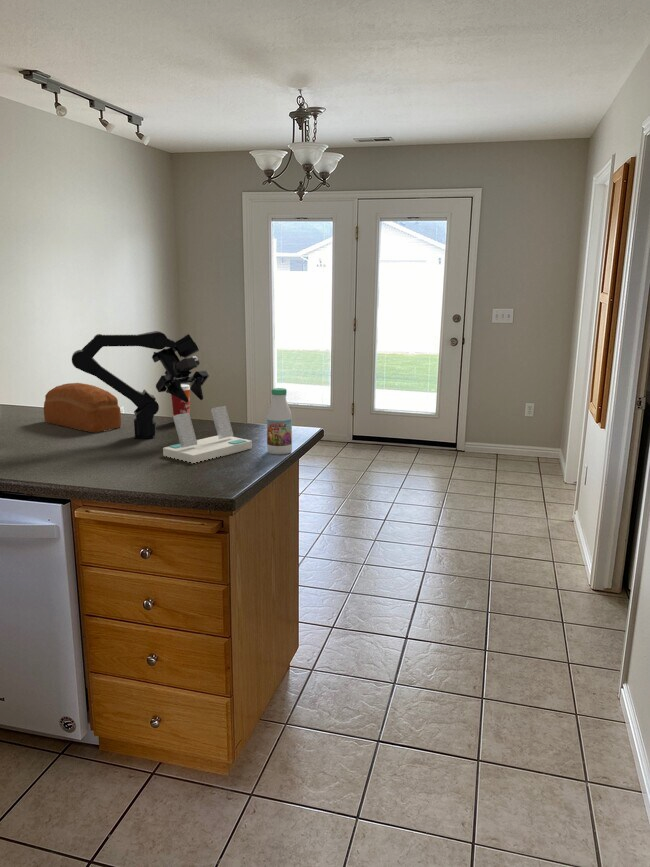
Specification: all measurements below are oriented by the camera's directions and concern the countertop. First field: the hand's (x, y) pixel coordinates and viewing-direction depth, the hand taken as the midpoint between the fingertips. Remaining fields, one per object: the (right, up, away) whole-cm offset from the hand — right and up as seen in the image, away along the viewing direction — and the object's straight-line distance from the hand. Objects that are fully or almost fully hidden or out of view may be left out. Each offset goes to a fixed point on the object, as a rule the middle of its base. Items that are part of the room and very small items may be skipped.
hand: (195, 400), depth 216 cm
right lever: (+11, -12, -7) cm, 18 cm away
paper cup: (-11, -7, +32) cm, 35 cm away
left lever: (+2, -15, -18) cm, 24 cm away
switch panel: (+7, -17, -12) cm, 22 cm away
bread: (-47, -8, +27) cm, 55 cm away
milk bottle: (+29, -17, -11) cm, 35 cm away
